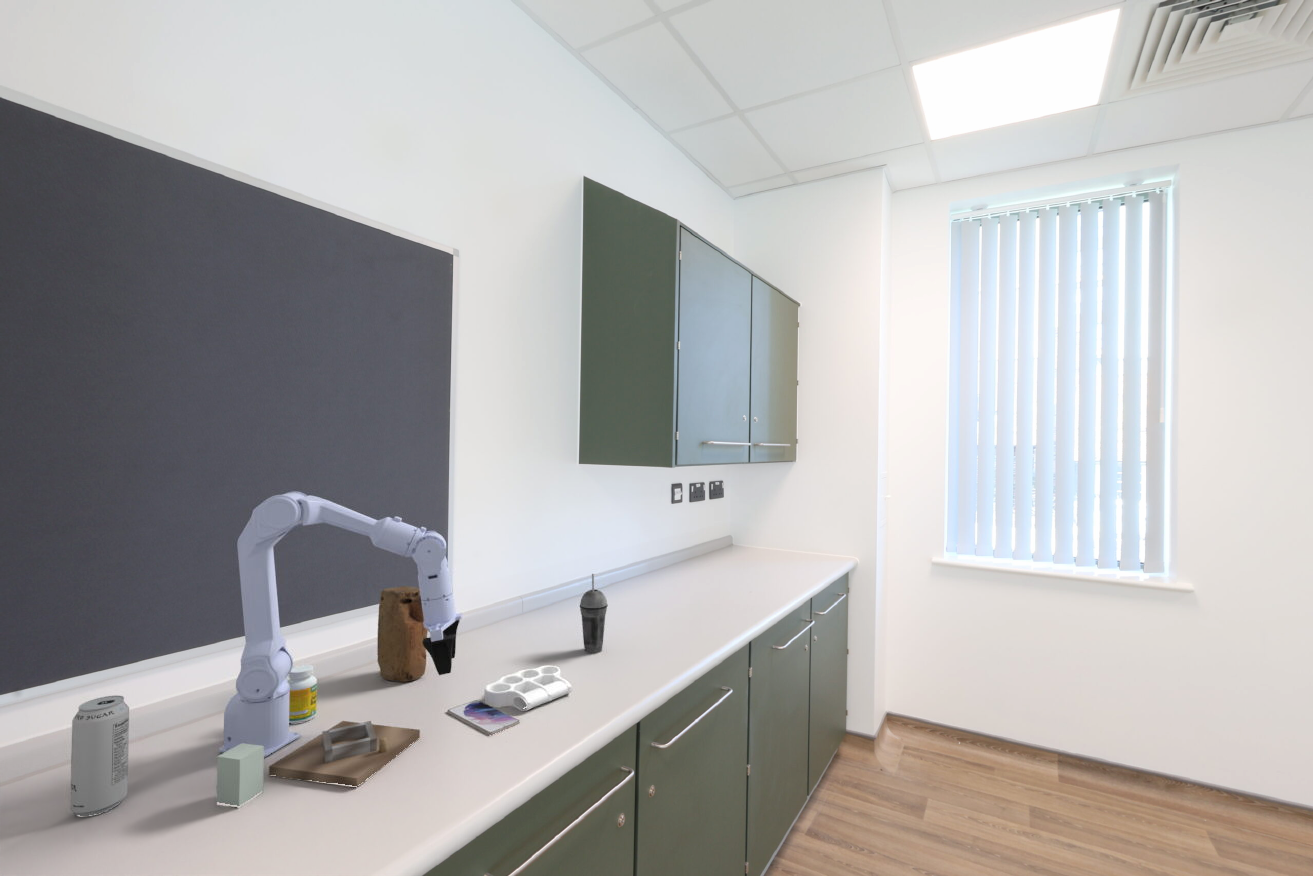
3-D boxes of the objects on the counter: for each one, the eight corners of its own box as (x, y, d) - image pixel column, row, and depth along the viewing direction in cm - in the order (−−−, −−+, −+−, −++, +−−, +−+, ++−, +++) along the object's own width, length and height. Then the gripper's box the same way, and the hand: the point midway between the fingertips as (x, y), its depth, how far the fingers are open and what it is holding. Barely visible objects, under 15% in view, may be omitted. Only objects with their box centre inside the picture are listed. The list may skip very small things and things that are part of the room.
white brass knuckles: (513, 721, 113) (471, 699, 123) (583, 692, 127) (541, 675, 137) (513, 703, 113) (471, 683, 123) (583, 676, 127) (541, 660, 137)
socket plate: (268, 775, 93) (269, 753, 93) (342, 729, 109) (342, 710, 109) (356, 788, 90) (357, 765, 90) (419, 738, 106) (419, 718, 106)
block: (373, 676, 134) (375, 588, 135) (403, 666, 141) (404, 582, 141) (403, 687, 128) (404, 595, 129) (432, 675, 135) (433, 588, 135)
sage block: (216, 805, 86) (217, 756, 86) (241, 789, 90) (241, 743, 90) (239, 808, 85) (240, 759, 85) (263, 793, 89) (263, 746, 89)
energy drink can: (82, 800, 87) (84, 697, 87) (134, 791, 89) (136, 691, 89) (61, 824, 81) (63, 714, 81) (117, 813, 84) (119, 707, 84)
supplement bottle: (286, 715, 115) (287, 665, 115) (317, 710, 117) (318, 661, 117) (282, 727, 110) (282, 675, 110) (315, 721, 112) (315, 671, 112)
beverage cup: (609, 646, 156) (610, 570, 156) (604, 655, 148) (605, 576, 149) (582, 645, 156) (583, 569, 157) (576, 654, 149) (576, 575, 149)
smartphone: (476, 699, 122) (521, 720, 112) (476, 703, 122) (521, 725, 112) (445, 710, 116) (489, 733, 106) (445, 714, 116) (489, 738, 106)
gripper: (455, 601, 106) (466, 675, 106) (461, 583, 120) (471, 648, 120) (413, 609, 104) (424, 684, 105) (425, 589, 118) (435, 656, 119)
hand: (447, 665), depth 112 cm, fingers open, 7 cm apart
